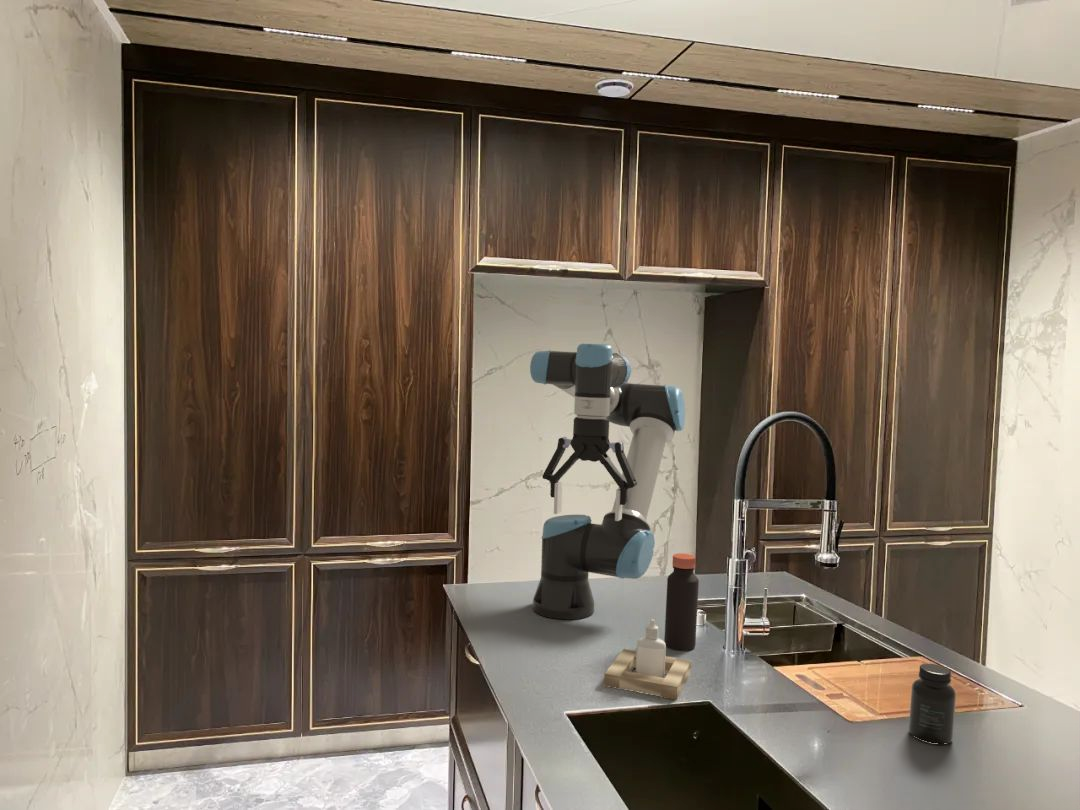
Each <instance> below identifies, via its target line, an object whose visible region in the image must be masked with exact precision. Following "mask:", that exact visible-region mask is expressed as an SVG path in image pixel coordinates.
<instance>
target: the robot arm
mask: <svg viewBox="0 0 1080 810" xmlns="http://www.w3.org/2000/svg"><path fill="white" fill-rule="evenodd" d="M532 355H533V356H532V357H531V360H530V365H529V373H530V377H531V379H532V380H533V381H534V383H536V384H543V385H553V386H555V387H556V388H558V389H560V390H561V391H563V392H565V393H566V394H568V395H569V396H571V397H573V398H574V404H573V405H574V406H573V408H574V409H573V410H574V412H573V414H574V415H575V417H574V418H573V426H572V427H573V429H572V432H573V433H572V438H567V437H566V436H563V437H560V438H558V440H557V447H556V449H555V450H554V453H553V455H552V457H551V459H550V461H549V462H548V464H547V466H546V468H545V469H544V472H543V474H542V479H544V480H547V481H549V483H550V492H549V493H550V498H553V514H554V515H558V514H560V513H561V512H562V501H563V499H562V498H563V481H560V480H561V479H562V477H564V475H565V474H566V473H567V472H568V471H569V470H570V469H571V468H572V467H573V465H575V463H576V462H577V461H578V460H581V461H584V462H585V461H590V462H595V463H596V462H600V464H602V466H603V467H604V468H605V470H606V472H608V474H609V475H610V477H611V478H612V479H613V481H614V482H615V483H616V485H617V487H618V488H617V489H616V491H615V498H614V502H613V506H612V510H611V511H609V512H607V513H605V514H604V516H603V518H602V523H600V524H599V523H593V522H592V519H591V516H589V515H586V514H565V515H559V516H553V517H550V518H548V519H547V520H545V521H544V523H543V527H542V536H541V565H540V566H541V567H540V568H541V570H540V571H541V572H540V579H539V582H538V584H537V588H536V590H535V592H534V596H533V599H532V610H533V611H534V613H536V614H537V615H540V616H542V617H545V618H546V617H547V618H551V619H557V620H579V619H583V618H587V617H590V616H591V615H593V614H594V612H595V600H594V596H593V592H592V589H591V585H590V581H589V573H592V574H597V575H598V574H599V575H602V576H610V577H615V578H619V579H632V580H633V579H634V580H635V579H640V578H642V576H644V575H645V574H646V572H647V571H648V569H649V568H650V565H651V562H652V559H653V555H654V549H655V536H654V533H653V532H652V531H651V526H650V524H649V523H648V521H647V519H648V518H647V517H648V515H649V510H650V507H651V503H652V498H653V495H654V491H655V486H656V483H657V479H658V475H659V472H660V471H659V470H660V467H661V462H662V458H663V455H664V450H665V447H666V443H668V442H670V441H672V440H673V438H674V435H675V431H676V432H681V431H682V430H683V429H684V428H685V421H686V405H685V404H686V403H685V397H684V395H683V392H682V390H681V388H680V387H678V386H675V385H668V384H663V385H658V384H657V385H656V384H645V383H644V384H643V383H642V384H641V383H628V381H629V379H630V378H631V374H632V367H631V363H630V361H629V360H628V358H626V357H625V356H624V355H622V354H620V353H618V352H613V347H612V345H611V344H604V343H603V344H602V343H580V344H578V346H577V347H576V351H559V350H539V351H536V352H534V354H532ZM610 423H612V424H615V425H618V426H621V427H629V429H630V431H631V433H632V438H631V441H630V445H629V448H628V453H627V456H626V454H625V450H624V449H625V448H624V442H623V441H621V440H620V441H618V442H610V439H609V436H610V434H609V433H610ZM570 446H571V448H572V449H573V451H574V452H573V453H572V454H571V455H570V456H569V457H568V459H567V460H566V461H565V462H564V463H563V464H562V466H560V468H558V470H557V471H556V472H555V470H556V468H557V467H558V464H559V463H560V461H561V459H562V457H563V455H564V453H565V452H566V449H568V448H569V447H570ZM610 449H611V451H612V452H613V453H615V456H616V460H617V462H618V465H619V467H620V469H621V471H622V473H621V472H620V471H619V469H618V468H617V467H616V466H615V464H614V463H613V461H612V460H611V457H610V456H609V455H608V451H609V450H610ZM554 472H555V473H554Z"/></svg>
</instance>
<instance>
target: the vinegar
mask: <svg viewBox="0 0 1080 810" xmlns="http://www.w3.org/2000/svg"><path fill="white" fill-rule="evenodd" d="M696 558H697V557H696V556H695V555H693V554H689V553H684V552H683V553H682V552H681V553H680V552H679V553H674V554H673V555H672V568H673V571H672V572H671V573H670V574H669V575H667V576H668V577H667V579H666V601H665V603H666V604H665V617H664V618H665V619H664V622H665V623H664V639H663V641H664V642H665V643H666V648H669V649H671V650H674V651H684V652H686V651H691V650H694V648H696V642H697V641H696V640H697V622H698V620H697V619H698V605H699V583H700V581H699V578H698V576H696V574H695V573H694V570H696V562H697V561H696Z"/></svg>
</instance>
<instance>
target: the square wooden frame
mask: <svg viewBox="0 0 1080 810" xmlns="http://www.w3.org/2000/svg"><path fill="white" fill-rule="evenodd" d="M636 653H637V650H631V649H626V648H623V649H622V651H621V652H620V653H619V655H618V656H617V657H616V659H615V660H614V661H613V662H612V664H611V665H610V666H609V667H608V669H607V670H606V671H605V672H604V682H603V686H604V685H605V686H610V687H616V688H620V689H619V690H621V689H627V690H633V691H639V692H643V693H648V694H653V695H658V696H662V697H661V698H663V697H665V698H664V699H668V698H670V699H669V700H673V699H674V700H675V701H677V700H678V698H679V697H678V696H680V695H681V693H682V691H681V690H683V689H684V687H685V685H684V684H686V683H687V681H688V679H689V677H690V675H691V673H692V660H689V659H684V658H677V657H674V656H665V676H664V678H661V677H656V676H650V675H645V674H639V673H636V672H635V671H633V670H634V669H633V668H636ZM631 671H632V672H631ZM685 682H686V683H685ZM605 686H604V687H605ZM683 686H684V687H683ZM610 687H609V688H610ZM616 688H615V689H616ZM682 688H683V689H682ZM680 692H681V693H680ZM679 694H680V695H679ZM674 700H673V701H674Z"/></svg>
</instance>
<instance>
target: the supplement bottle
mask: <svg viewBox="0 0 1080 810" xmlns="http://www.w3.org/2000/svg"><path fill="white" fill-rule="evenodd" d="M951 676H952V672H951V670H950V669H949V668H948V667H945V666H943V665H939V664H935V663H922V664H920V665H919V672H918V677H919V678H917V679H915V680H914V681H913V682H912V685H911V690H910V691H911V692H910V693H911V694H910V707H909V708H910V709H909V719H908V721H909V723H908V731H909V733H910V735H911V734H912V735H913V736H915V737H917V738H919V739H921V740H924V741H927V742H931V743H938V744H944V743H949V742H950V743H951V742H952V741H953V738H954V728H955V726H954V725H955V712H956V700H957V697H956V696H957V694H956V690H955V689H954V687H953V686H952V685H951V683H952V677H951ZM912 735H911V736H912ZM913 736H912V737H913ZM950 743H949V744H950Z"/></svg>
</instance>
